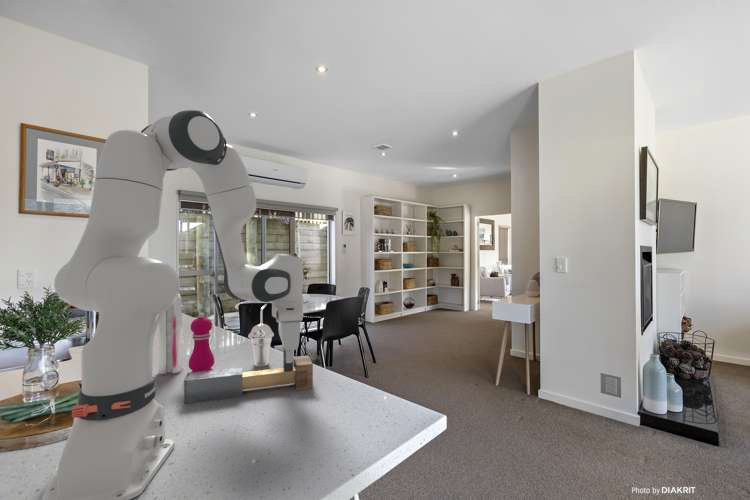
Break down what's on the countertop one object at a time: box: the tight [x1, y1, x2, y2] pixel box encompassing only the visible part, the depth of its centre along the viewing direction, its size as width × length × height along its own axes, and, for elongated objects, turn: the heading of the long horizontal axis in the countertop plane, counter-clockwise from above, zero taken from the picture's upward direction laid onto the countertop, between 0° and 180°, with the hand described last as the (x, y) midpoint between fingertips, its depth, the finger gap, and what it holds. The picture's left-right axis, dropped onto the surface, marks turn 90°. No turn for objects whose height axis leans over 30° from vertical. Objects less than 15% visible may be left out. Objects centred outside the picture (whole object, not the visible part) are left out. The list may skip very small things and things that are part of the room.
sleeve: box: [183, 366, 243, 405], centre depth 96 cm, size 6×14×6 cm, turn 110°
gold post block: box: [242, 347, 296, 391], centre depth 101 cm, size 4×20×10 cm, turn 110°
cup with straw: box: [247, 303, 275, 367], centre depth 121 cm, size 8×9×20 cm
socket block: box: [293, 355, 314, 391], centre depth 104 cm, size 8×4×7 cm, turn 20°
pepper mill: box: [188, 312, 215, 372], centre depth 109 cm, size 7×7×20 cm
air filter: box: [157, 293, 183, 376], centre depth 113 cm, size 6×6×25 cm
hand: (287, 357), depth 102 cm, fingers open, 8 cm apart
